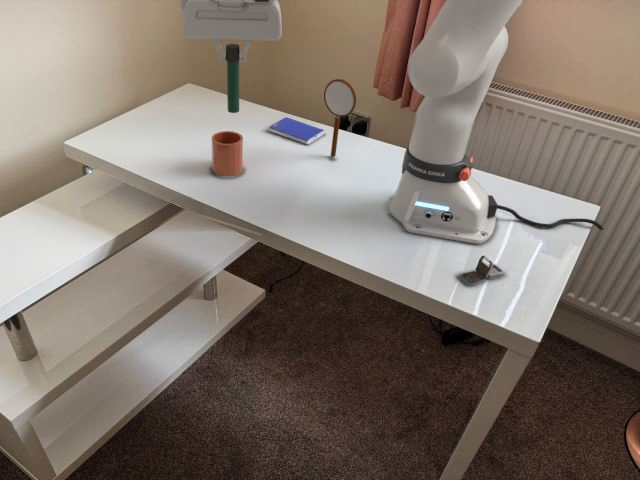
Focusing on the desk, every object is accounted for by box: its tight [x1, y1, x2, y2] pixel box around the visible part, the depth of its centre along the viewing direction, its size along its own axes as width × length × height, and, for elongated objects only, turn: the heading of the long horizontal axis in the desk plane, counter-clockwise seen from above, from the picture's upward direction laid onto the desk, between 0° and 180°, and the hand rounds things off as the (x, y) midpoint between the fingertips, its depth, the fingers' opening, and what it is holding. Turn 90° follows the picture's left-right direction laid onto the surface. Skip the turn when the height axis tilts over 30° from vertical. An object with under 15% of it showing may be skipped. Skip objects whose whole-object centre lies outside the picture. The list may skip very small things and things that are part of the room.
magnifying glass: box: [323, 78, 357, 160], centre depth 138 cm, size 9×2×20 cm, turn 50°
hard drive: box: [268, 116, 325, 145], centre depth 154 cm, size 2×8×12 cm
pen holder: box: [211, 130, 244, 177], centre depth 136 cm, size 7×7×8 cm
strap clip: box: [459, 255, 505, 286], centre depth 108 cm, size 8×3×4 cm, turn 114°
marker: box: [225, 43, 240, 114], centre depth 124 cm, size 3×3×14 cm
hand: (233, 60), depth 121 cm, fingers closed on marker, 3 cm apart
